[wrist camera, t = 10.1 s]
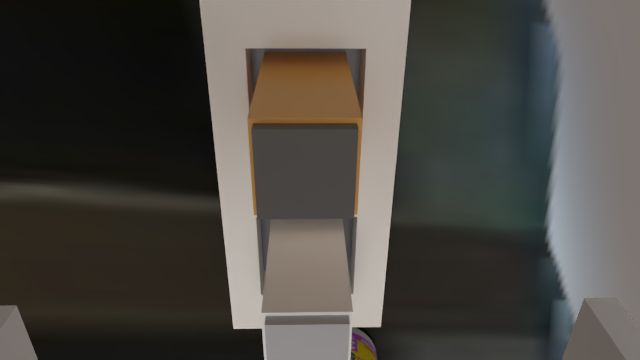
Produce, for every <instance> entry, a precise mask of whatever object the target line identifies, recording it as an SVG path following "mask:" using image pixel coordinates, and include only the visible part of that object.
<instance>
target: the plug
mask: <svg viewBox="0 0 640 360" xmlns="http://www.w3.org/2000/svg"><path fill="white" fill-rule="evenodd" d="M362 119H363V118H362V114H361V110H360V106H359V103H358V99H357V95H356V91H355V87H354V83H353V79H352V75H351V71H350V67H349V63H348V59H347V56H346V52H265V53H264V56H263V60H262V64H261V68H260V72H259V76H258V79H257V83H256V87H255V91H254V95H253V99H252V102H251V106H250V110H249V114H248V118H247V122H248V137H249V152H250V167H251V182H252V197H253V212H254V215H257V219H354V215H357V212H358V194H359V175H360V156H361V138H362Z"/></svg>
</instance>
